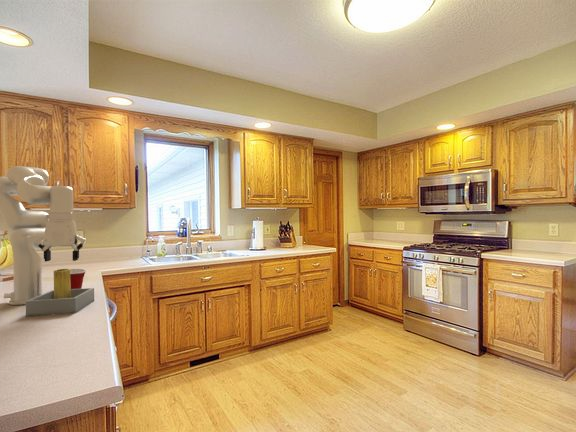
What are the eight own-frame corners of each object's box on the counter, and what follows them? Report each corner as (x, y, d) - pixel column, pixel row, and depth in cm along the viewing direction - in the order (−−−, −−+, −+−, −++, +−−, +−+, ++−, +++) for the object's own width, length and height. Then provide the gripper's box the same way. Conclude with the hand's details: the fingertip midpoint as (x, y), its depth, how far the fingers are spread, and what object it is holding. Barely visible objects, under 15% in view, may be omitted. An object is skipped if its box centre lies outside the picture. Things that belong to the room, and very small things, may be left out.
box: (25, 316, 113) (25, 301, 113) (51, 303, 131) (51, 290, 131) (75, 313, 117) (75, 298, 117) (94, 300, 134) (94, 287, 135)
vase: (49, 308, 120) (49, 271, 120) (57, 304, 126) (56, 269, 126) (68, 307, 122) (67, 270, 122) (74, 303, 128) (73, 268, 128)
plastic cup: (72, 299, 137) (72, 272, 137) (51, 298, 139) (51, 271, 139) (92, 293, 148) (92, 268, 148) (73, 293, 150) (72, 267, 150)
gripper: (31, 217, 119) (30, 262, 119) (82, 217, 122) (82, 261, 123) (41, 217, 126) (41, 259, 126) (89, 217, 130) (89, 258, 130)
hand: (61, 260), depth 124 cm, fingers open, 9 cm apart
